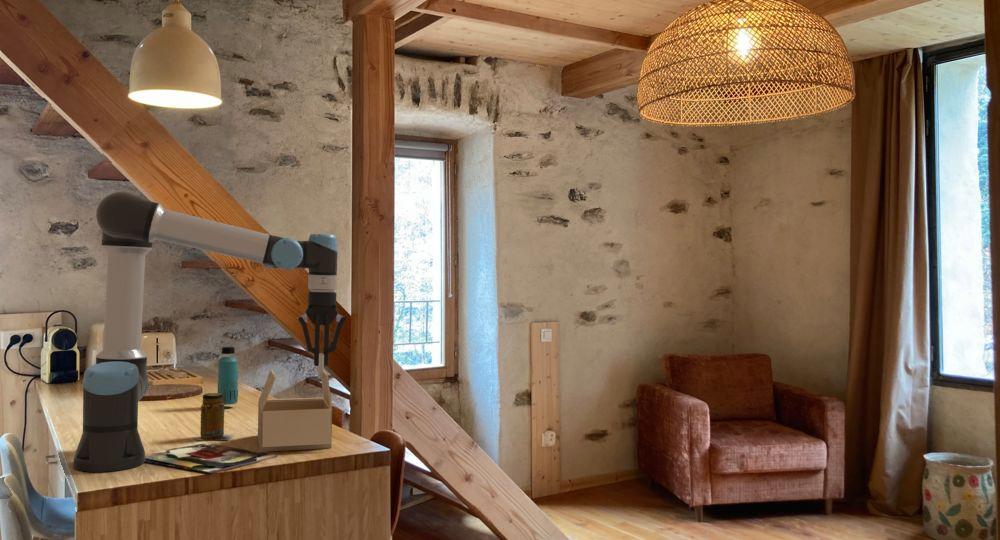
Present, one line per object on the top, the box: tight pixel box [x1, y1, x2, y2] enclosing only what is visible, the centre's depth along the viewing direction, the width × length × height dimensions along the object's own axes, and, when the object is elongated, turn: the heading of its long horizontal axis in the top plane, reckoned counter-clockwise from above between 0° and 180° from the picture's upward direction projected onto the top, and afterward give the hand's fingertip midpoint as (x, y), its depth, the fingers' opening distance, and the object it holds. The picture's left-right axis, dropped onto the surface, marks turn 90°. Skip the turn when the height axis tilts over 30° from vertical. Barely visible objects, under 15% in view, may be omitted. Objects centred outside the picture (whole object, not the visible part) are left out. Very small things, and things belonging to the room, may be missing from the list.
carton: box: [257, 399, 333, 453], centre depth 210 cm, size 18×16×10 cm
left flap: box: [258, 368, 276, 411], centre depth 207 cm, size 1×15×9 cm, turn 19°
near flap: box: [262, 408, 332, 447], centre depth 200 cm, size 17×1×9 cm, turn 109°
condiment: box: [195, 392, 234, 442], centre depth 214 cm, size 7×8×12 cm
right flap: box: [320, 369, 333, 409], centre depth 212 cm, size 1×15×9 cm, turn 19°
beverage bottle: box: [217, 346, 239, 406], centre depth 257 cm, size 6×7×20 cm
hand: (320, 377), depth 212 cm, fingers closed
